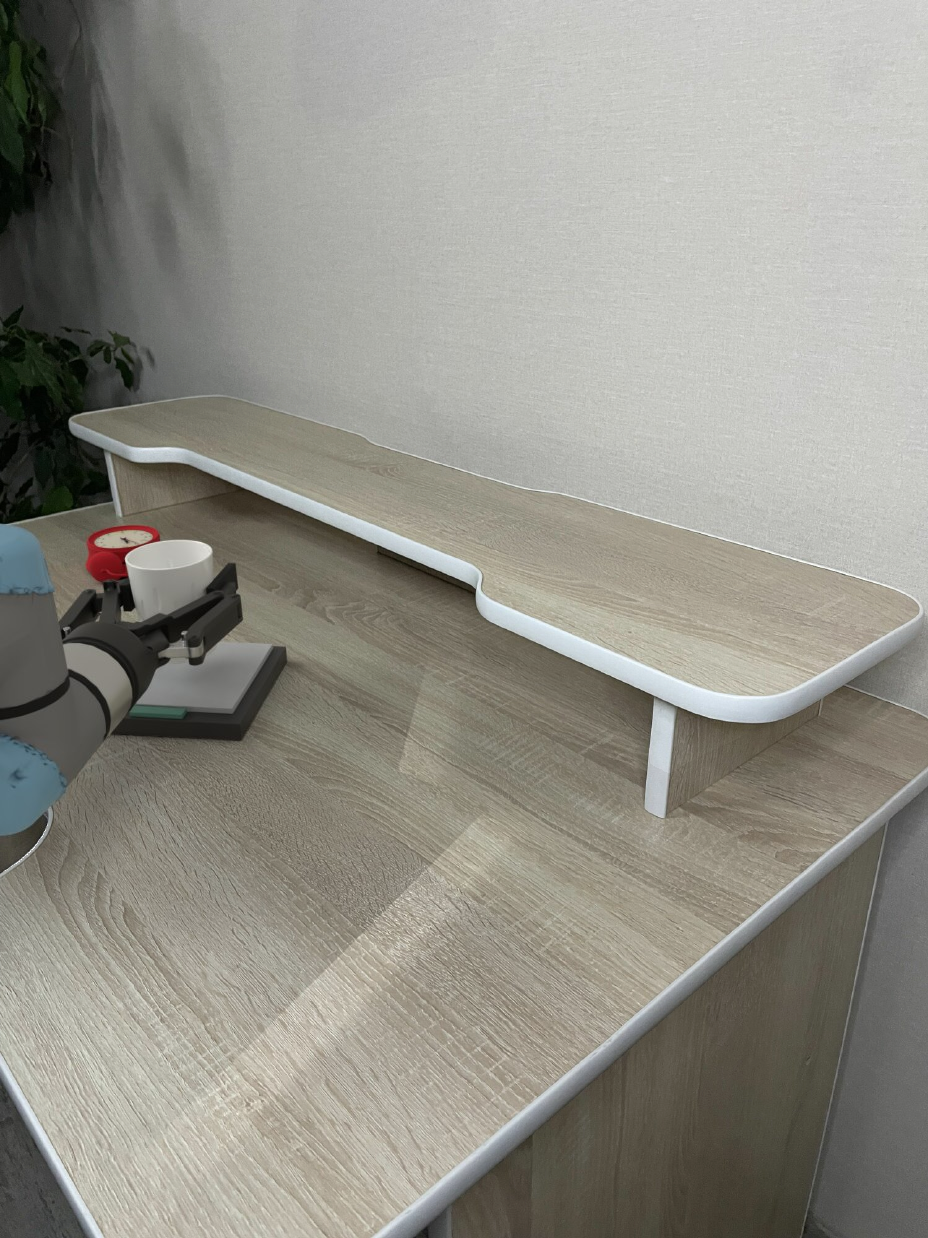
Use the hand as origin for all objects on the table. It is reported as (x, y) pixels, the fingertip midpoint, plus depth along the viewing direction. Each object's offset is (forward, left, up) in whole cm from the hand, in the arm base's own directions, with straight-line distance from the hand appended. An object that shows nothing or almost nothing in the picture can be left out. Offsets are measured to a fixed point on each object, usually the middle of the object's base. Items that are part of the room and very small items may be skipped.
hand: (192, 574), depth 94 cm
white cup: (0, -5, -6) cm, 8 cm away
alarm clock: (-20, +27, -11) cm, 36 cm away
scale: (0, -5, -11) cm, 12 cm away
